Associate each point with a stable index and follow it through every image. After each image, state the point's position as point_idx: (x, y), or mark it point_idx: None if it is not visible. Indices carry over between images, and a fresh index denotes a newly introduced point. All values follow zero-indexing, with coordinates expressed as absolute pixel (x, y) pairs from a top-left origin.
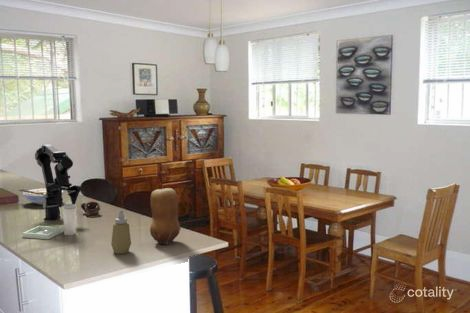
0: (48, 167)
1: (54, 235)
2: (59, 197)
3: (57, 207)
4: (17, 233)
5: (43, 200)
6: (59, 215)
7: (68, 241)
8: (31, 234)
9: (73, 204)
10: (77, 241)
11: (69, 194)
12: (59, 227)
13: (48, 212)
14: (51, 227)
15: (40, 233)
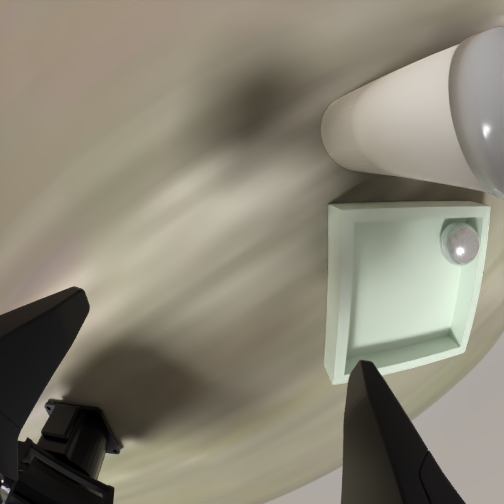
0: None
1: (430, 203)
2: (420, 458)
3: (47, 452)
4: None
5: (5, 500)
6: (58, 411)
7: None
8: (472, 305)
9: (493, 69)
10: (442, 42)
11: (6, 463)
12: (347, 238)
13: (99, 463)
14: (350, 297)
15: (394, 313)
